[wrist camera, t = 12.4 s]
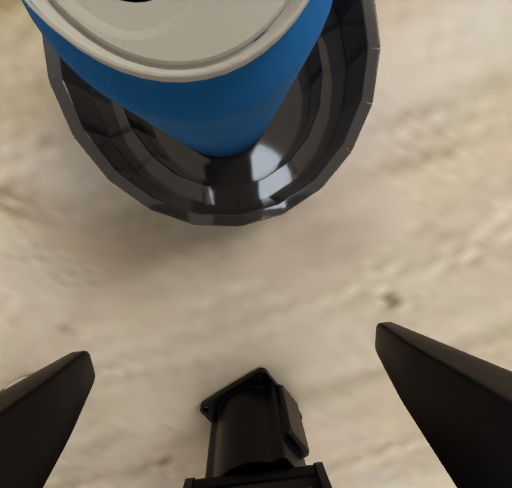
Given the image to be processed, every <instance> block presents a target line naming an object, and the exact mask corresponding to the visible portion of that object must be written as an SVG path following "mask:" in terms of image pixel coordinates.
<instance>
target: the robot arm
mask: <svg viewBox="0 0 512 488" xmlns="http://www.w3.org/2000/svg"><path fill="white" fill-rule="evenodd" d="M375 348H376V352H377V354H378V356H379V358H380V360H381V362H382V364H383V366H384V368H385V370H386V372H387V374H388V376H389V378H390V379H391V381H392V383H393V385H394V387H395V389H396V391H397V393H398V395H399V397H400V398H401V400H402V402H403V403H404V405H405V407H406V408H407V410H408V412H409V413H410V415H411V416H412V418H413V419H414V421H415V422H416V424H417V426H418V427H419V429H420V430H421V432H422V433H423V435H424V437H425V438H426V440H427V441H428V443H429V444H430V446H431V448H432V449H433V451H434V452H435V454H436V455H437V457H438V458H439V460H440V462H441V463H442V465H443V466H444V468H445V469H446V471H447V473H448V474H449V476H450V477H451V479H452V480H453V482H454V483H455V485H456V487H457V488H512V372H511V371H509V370H506V369H504V368H501V367H499V366H497V365H494V364H492V363H489V362H487V361H484V360H482V359H480V358H477V357H475V356H472V355H470V354H467V353H465V352H463V351H460V350H458V349H455V348H453V347H451V346H448V345H446V344H443V343H441V342H438V341H436V340H434V339H431V338H429V337H426V336H424V335H421V334H419V333H417V332H414V331H412V330H409V329H407V328H404V327H402V326H400V325H397V324H395V323H392V322H384V323H379V324H378V325H377V328H376V340H375ZM260 374H263V375H260ZM94 379H95V372H94V368H93V364H92V361H91V357H90V354H89V353H88V352H87V351H79V352H72V353H70V354H68V355H66V356H64V357H62V358H61V359H59V360H57V361H55V362H53V363H52V364H50V365H48V366H46V367H44V368H42V369H41V370H39V371H37V372H35V373H33V374H32V375H30V376H28V377H26V378H24V379H22V380H21V381H19V382H17V383H15V384H13V385H12V386H10V387H8V388H6V389H4V390H3V391H1V392H0V488H43V486H44V484H45V483H46V481H47V479H48V477H49V475H50V473H51V471H52V470H53V468H54V466H55V464H56V462H57V460H58V458H59V457H60V455H61V453H62V451H63V449H64V447H65V445H66V443H67V441H68V439H69V437H70V435H71V433H72V431H73V429H74V427H75V424H76V422H77V420H78V417H79V415H80V413H81V411H82V408H83V406H84V404H85V401H86V399H87V397H88V394H89V392H90V390H91V387H92V385H93V383H94ZM205 407H208V408H205ZM200 411H201V413H202V414H203V415H204V416H205V417H206V418H207V419H208V420H209V421H210V422H211V431H210V440H209V449H208V458H207V467H206V476H205V478H202V479H195V478H186V479H185V483H184V486H183V488H332V486H331V484H330V481H329V479H328V476H327V474H326V471H325V469H324V466H323V463H322V462H317V463H313V465H308V466H306V464H305V460H304V458H305V457H307V456H308V455H309V447H308V444H307V440H306V436H305V432H304V428H303V424H302V416H301V413H300V411H299V409H298V405H297V403H296V402H295V400H294V399H293V398H292V397H291V395H290V394H289V393H288V392H287V390H286V389H285V388H284V387H283V385H280V384H279V385H278V384H277V382H276V381H275V380H274V379H273V377H272V376H271V375H270V374H269V372H268V371H267V370H266V369H265V368H258V369H256V370H255V371H253V372H251V373H250V374H248V375H246V376H245V377H243V378H242V379H240V380H238V381H237V382H235V383H233V384H232V385H230V386H228V387H227V388H225V389H223V390H222V391H220V392H218V393H217V394H215V395H213V396H212V397H210V398H209V399H207V400H205V401H204V402H202V404H201V408H200Z"/></svg>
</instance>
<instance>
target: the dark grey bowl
mask: <svg viewBox="0 0 512 488" xmlns="http://www.w3.org/2000/svg"><path fill="white" fill-rule="evenodd" d="M42 37H43V43H44V50H45V57H46V64H47V71H48V78H49V81H50V84H51V87H52V89H53V91H54V93H55V96H56V98H57V100H58V103H59V105H60V107H61V109H62V112H63V114H64V116H65V118H66V121H67V123H68V125H69V128H70V130H71V132H72V134H73V136H74V138H75V139H76V140H77V141H78V143H79V144H80V145H81V146H82V148H83V149H84V150H85V151H86V153H87V154H88V155H89V156H90V158H91V159H92V160H93V161H94V162H95V164H96V165H97V166H98V167H99V169H100V170H101V171H102V172H103V174H104V175H105V176H106V177H107V179H109V180H110V181H111V182H112V183H114V184H115V185H116V186H118V187H119V188H121V189H122V190H123V191H125V192H126V193H128V194H129V195H131V196H132V197H133V198H135V199H136V200H138V201H139V202H140V203H142V204H143V205H145V206H146V207H147V208H149V209H151V210H153V211H155V212H158V213H161V214H164V215H167V216H170V217H173V218H176V219H179V220H182V221H185V222H187V223H190V224H193V225H195V224H196V225H209V226H243V225H247V224H250V223H254V222H257V221H261V220H264V219H268V218H271V217H275V216H278V215H282V213H283V214H284V213H285V212H287V211H288V210H290V209H291V208H293V207H295V206H296V205H298V204H299V203H301V202H302V201H304V200H305V199H307V198H308V197H310V196H311V195H313V194H314V193H316V192H317V191H319V190H320V189H321V188H322V187H323V186H324V185H325V183H326V182H327V181H328V180H329V179H330V177H331V176H332V175H333V174H334V173H335V171H336V170H337V169H338V168H339V166H340V165H341V164H342V163H343V162H344V160H345V159H346V158H347V157H348V156H349V154H350V153H351V151H352V149H353V147H354V145H355V143H356V140H357V138H358V136H359V133H360V131H361V129H362V126H363V124H364V122H365V120H366V117H367V115H368V113H369V110H370V108H371V106H372V102H373V96H374V89H375V82H376V75H377V68H378V62H379V55H380V39H379V30H378V22H377V14H376V5H375V0H333V1H332V5H331V8H330V12H329V14H328V17H327V19H326V22H325V24H324V27H323V29H322V32H321V34H320V36H319V37H318V39H317V41H316V43H315V45H314V47H313V49H312V50H311V52H310V54H309V56H308V57H307V59H306V61H305V63H304V64H303V66H302V68H301V70H300V71H299V73H298V75H297V77H296V78H295V80H294V82H293V84H292V85H291V87H290V89H289V91H288V92H287V94H286V96H285V98H284V99H283V101H282V103H281V105H280V106H279V108H278V110H277V112H276V113H275V115H274V117H273V119H272V120H271V122H270V124H269V126H268V127H267V129H266V131H265V132H264V134H263V135H262V137H261V138H260V139H259V140H258V141H257V142H256V143H255V144H254V145H253V146H252V147H250V148H249V149H247V150H246V151H244V152H242V153H240V154H237V155H234V156H229V157H211V156H207V155H203V154H201V153H198V152H196V151H194V150H193V149H191V148H189V147H188V146H186V145H184V144H183V143H181V142H179V141H178V140H176V139H174V138H173V137H171V136H170V135H168V134H166V133H165V132H163V131H161V130H160V129H158V128H156V127H155V126H153V125H152V124H150V123H148V122H147V121H145V120H143V119H142V118H140V117H138V116H137V115H135V114H134V113H132V112H130V111H129V110H127V109H125V108H124V107H122V106H120V105H119V104H117V103H116V102H114V101H112V100H111V99H109V98H107V97H106V96H104V95H103V94H101V93H100V92H99V91H97V90H96V89H95V88H93V87H92V86H91V85H89V84H88V83H87V82H85V81H84V80H83V79H82V78H81V77H80V76H79V75H78V74H77V73H76V72H75V71H74V70H73V69H71V68H70V67H69V66H68V65H67V64H66V63H65V61H64V60H63V59H62V58H61V57H60V56H59V54H58V53H57V52H56V51H55V50H54V48H53V47H52V46H51V45H50V44H49V42H48V41H47V40H46V38H45V37H44V36H43V34H42Z"/></svg>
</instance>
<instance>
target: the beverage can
mask: <svg viewBox="0 0 512 488" xmlns="http://www.w3.org/2000/svg"><path fill="white" fill-rule="evenodd" d="M332 1H333V0H22V2H23V4H24V5H25V7H26V9H27V11H28V13H29V14H30V16H31V18H32V20H33V21H34V23H35V24H36V25H37V27H38V28H39V30H40V31H41V33H42V34H43V36H44V37H45V38H46V40H47V41H48V42H49V44H50V45H51V46H52V47H53V48H54V50H55V51H56V52H57V53H58V54H59V56H60V57H61V58H62V59H63V60H64V61H65V63H66V64H67V65H68V66H69V67H70V68H71V69H73V70H74V71H75V72H76V73H77V74H78V75H79V76H80V77H81V78H82V79H83V80H84V81H85V82H87V83H88V84H89V85H91V86H92V87H93V88H95V89H96V90H97V91H99V92H100V93H101V94H103V95H104V96H106V97H107V98H109V99H111V100H112V101H114V102H116V103H117V104H119V105H120V106H122V107H124V108H125V109H127V110H129V111H130V112H132V113H134V114H135V115H137V116H138V117H140V118H142V119H143V120H145V121H147V122H148V123H150V124H152V125H153V126H155V127H156V128H158V129H160V130H161V131H163V132H165V133H166V134H168V135H170V136H171V137H173V138H174V139H176V140H178V141H179V142H181V143H183V144H184V145H186V146H188V147H189V148H191V149H193V150H194V151H196V152H198V153H201V154H203V155H207V156H211V157H229V156H234V155H237V154H240V153H242V152H244V151H246V150H247V149H249V148H250V147H252V146H253V145H254V144H255V143H256V142H257V141H258V140H259V139H260V138H261V137H262V135H263V134H264V132H265V131H266V129H267V127H268V126H269V124H270V122H271V120H272V119H273V117H274V115H275V113H276V112H277V110H278V108H279V106H280V105H281V103H282V101H283V99H284V98H285V96H286V94H287V92H288V91H289V89H290V87H291V85H292V84H293V82H294V80H295V78H296V77H297V75H298V73H299V71H300V70H301V68H302V66H303V64H304V63H305V61H306V59H307V57H308V56H309V54H310V52H311V50H312V49H313V47H314V45H315V43H316V41H317V39H318V37H319V36H320V34H321V32H322V29H323V27H324V24H325V22H326V19H327V17H328V14H329V12H330V8H331V5H332Z"/></svg>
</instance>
